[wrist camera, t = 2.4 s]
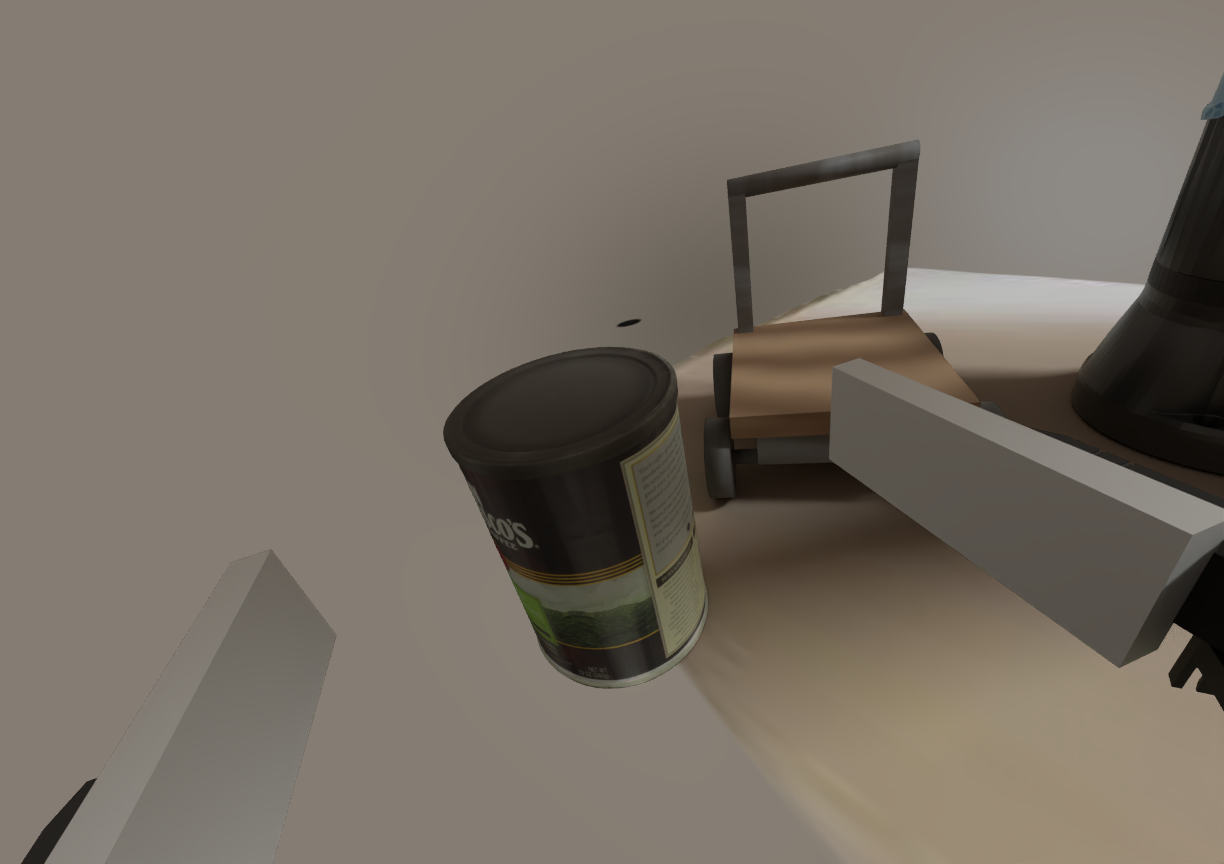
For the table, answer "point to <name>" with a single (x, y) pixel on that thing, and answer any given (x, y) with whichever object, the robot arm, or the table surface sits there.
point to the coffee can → (590, 508)
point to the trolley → (815, 336)
